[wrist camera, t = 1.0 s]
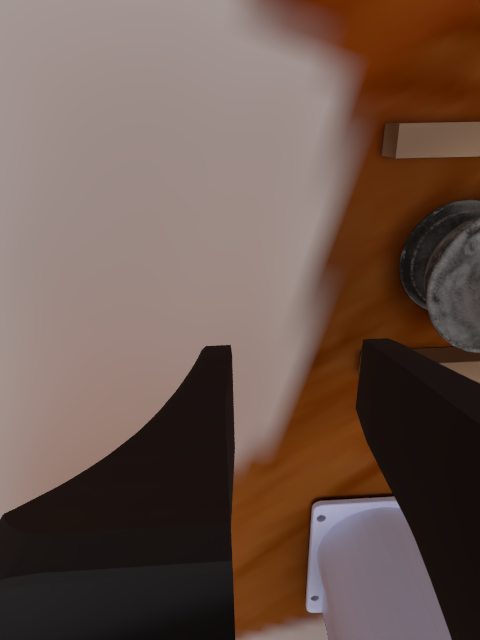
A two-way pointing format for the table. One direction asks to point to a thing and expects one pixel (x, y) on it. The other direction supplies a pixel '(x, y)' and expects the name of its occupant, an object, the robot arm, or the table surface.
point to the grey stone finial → (447, 271)
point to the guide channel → (429, 144)
